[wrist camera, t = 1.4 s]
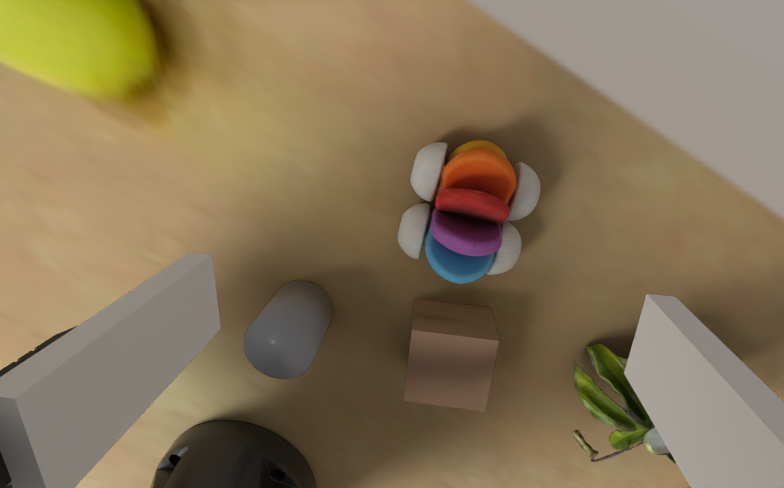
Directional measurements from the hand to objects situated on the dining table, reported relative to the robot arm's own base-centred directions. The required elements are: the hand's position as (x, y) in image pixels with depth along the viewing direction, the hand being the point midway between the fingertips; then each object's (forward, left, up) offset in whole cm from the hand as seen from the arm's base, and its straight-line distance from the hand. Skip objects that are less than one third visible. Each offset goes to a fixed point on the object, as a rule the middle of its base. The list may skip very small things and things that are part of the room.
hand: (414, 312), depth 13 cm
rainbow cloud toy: (-1, -3, -19) cm, 20 cm away
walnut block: (-12, -3, -19) cm, 23 cm away
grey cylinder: (-11, +9, -19) cm, 24 cm away
